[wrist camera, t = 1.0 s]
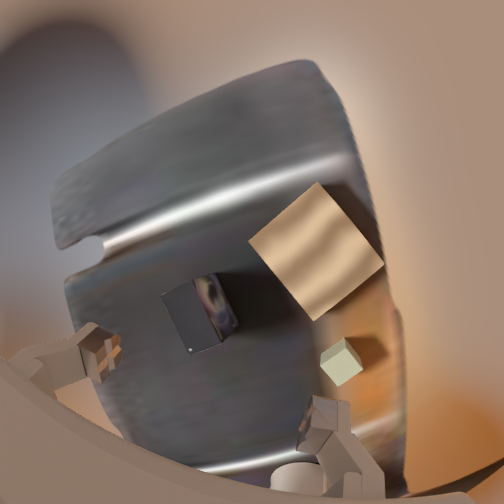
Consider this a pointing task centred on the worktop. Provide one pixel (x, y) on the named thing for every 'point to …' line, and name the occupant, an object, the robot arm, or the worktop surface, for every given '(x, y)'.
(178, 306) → the small box
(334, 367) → the sage cube
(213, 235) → the worktop surface
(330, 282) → the birch platform
